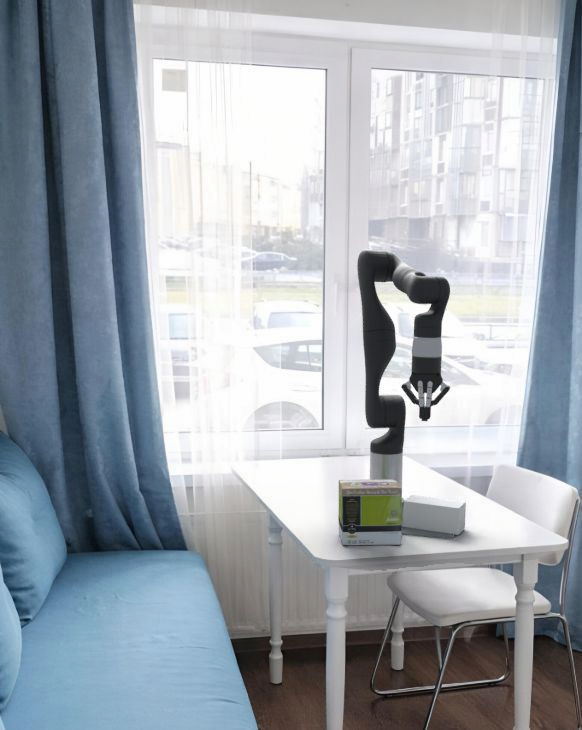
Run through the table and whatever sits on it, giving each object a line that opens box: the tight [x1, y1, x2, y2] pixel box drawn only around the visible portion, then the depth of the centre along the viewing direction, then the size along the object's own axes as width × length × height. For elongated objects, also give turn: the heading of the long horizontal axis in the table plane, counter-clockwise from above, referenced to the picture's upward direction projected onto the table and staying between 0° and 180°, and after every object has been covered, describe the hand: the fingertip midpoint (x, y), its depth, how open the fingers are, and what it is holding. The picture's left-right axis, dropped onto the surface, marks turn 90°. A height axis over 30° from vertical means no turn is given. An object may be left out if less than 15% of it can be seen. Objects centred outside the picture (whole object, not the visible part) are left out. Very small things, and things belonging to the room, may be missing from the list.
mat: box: [402, 526, 455, 540], centre depth 219 cm, size 11×19×1 cm, turn 75°
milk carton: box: [402, 494, 467, 536], centre depth 220 cm, size 7×7×19 cm
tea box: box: [337, 479, 403, 546], centre depth 209 cm, size 15×10×15 cm, turn 92°
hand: (424, 420), depth 215 cm, fingers closed
